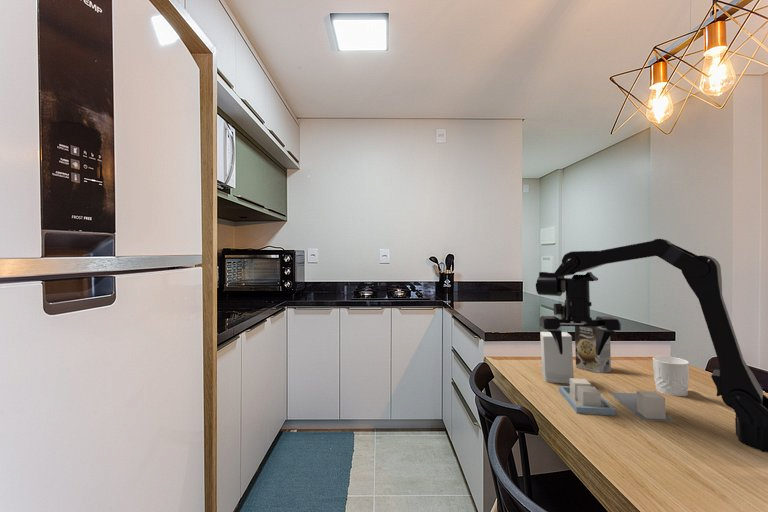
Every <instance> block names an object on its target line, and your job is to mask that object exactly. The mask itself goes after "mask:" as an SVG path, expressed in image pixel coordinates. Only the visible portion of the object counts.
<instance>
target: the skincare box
mask: <svg viewBox="0 0 768 512" xmlns="http://www.w3.org/2000/svg"><path fill="white" fill-rule="evenodd" d="M539 333H540V334H539V335H540V336H539V337H540V353H541V354H540V356H541V358H540V359H541V372H542V375H541V376H542V378H543V380H544V381H545V383H552V384H553V383H554V384H555V383H556V384H569V385H570V378H575V377H574V359H573V358H574V357H573V336H572V335H571V334H570V333H568V332H567V331H562V346H563V352H562V354H560V353H559V350H558V348H557V345H556V342H555V340H554V338H553V336H552V334H551V332H549V331H540V332H539Z"/></svg>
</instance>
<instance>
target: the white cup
mask: <svg viewBox="0 0 768 512" xmlns="http://www.w3.org/2000/svg"><path fill="white" fill-rule="evenodd" d="M652 367H653V376H654V377H653V378H654V384H655V390H656V392H659V393H662V394H665V395H669V396H673V397H686V396H688V389H689V378H690V377H689V376H690V362H689V361H688V360H686V359H684V358H680V357H679V358H678V357H674V356H666V355H664V356H663V355H655V356H653V357H652Z"/></svg>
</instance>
